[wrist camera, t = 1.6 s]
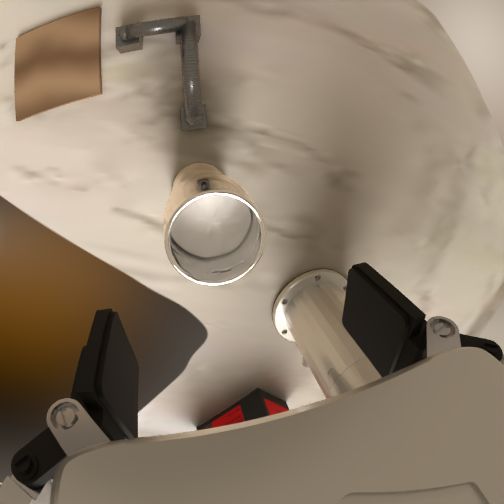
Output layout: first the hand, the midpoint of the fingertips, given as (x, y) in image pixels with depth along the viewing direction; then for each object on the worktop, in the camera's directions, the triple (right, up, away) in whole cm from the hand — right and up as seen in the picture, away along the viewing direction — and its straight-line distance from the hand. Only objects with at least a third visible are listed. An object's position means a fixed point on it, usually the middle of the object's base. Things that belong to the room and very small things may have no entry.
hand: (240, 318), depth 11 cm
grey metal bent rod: (-9, +21, +14) cm, 27 cm away
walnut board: (-21, +23, +10) cm, 33 cm away
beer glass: (-5, +9, +21) cm, 23 cm away
